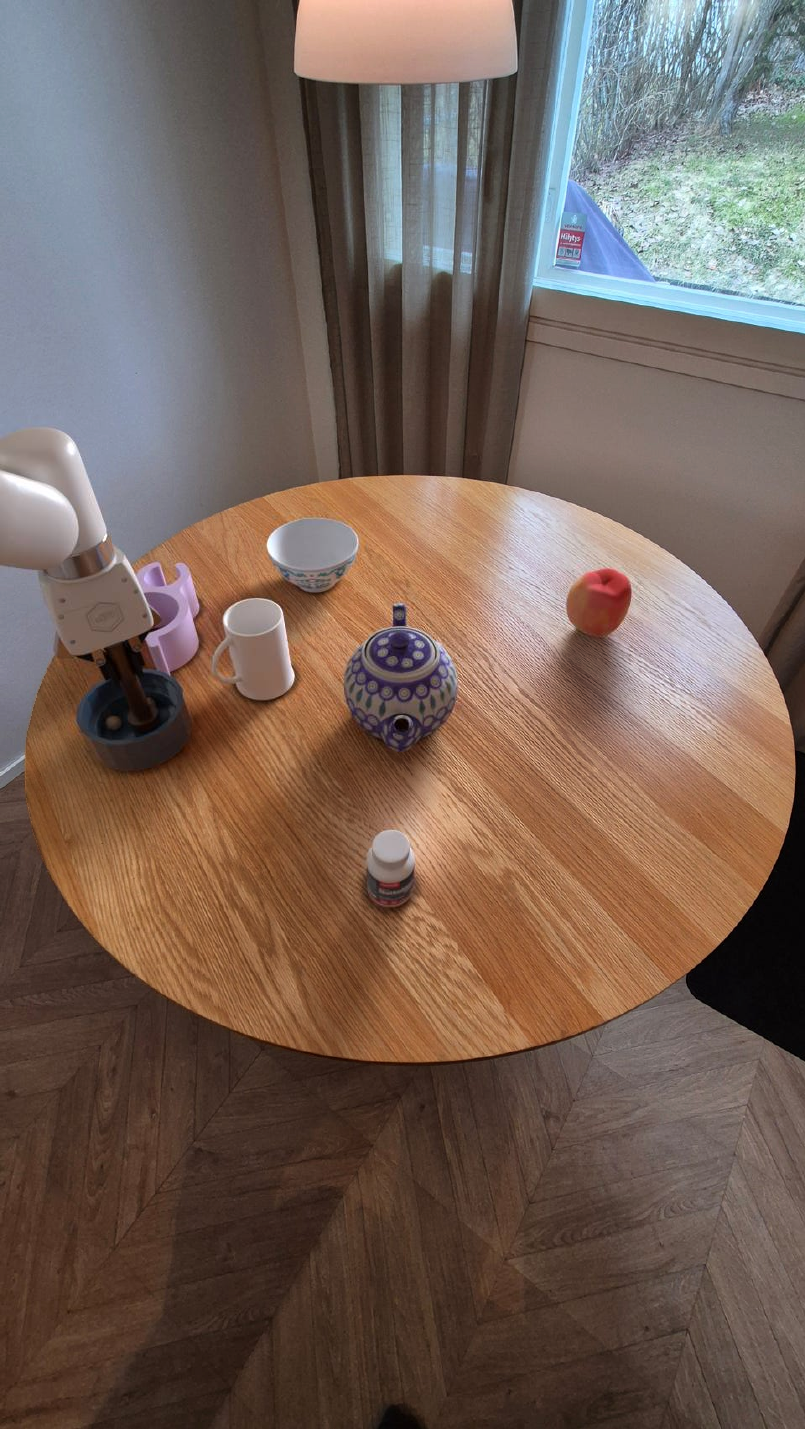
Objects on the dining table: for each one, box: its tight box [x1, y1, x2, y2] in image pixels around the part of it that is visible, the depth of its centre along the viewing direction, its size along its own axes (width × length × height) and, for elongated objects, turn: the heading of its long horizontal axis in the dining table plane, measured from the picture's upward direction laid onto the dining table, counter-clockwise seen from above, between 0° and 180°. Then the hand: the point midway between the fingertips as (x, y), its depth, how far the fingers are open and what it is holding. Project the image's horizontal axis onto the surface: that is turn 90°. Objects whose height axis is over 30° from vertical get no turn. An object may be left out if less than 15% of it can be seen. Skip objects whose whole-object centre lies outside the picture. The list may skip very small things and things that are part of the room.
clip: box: [124, 561, 200, 676], centre depth 101 cm, size 20×12×7 cm, turn 178°
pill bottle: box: [365, 829, 416, 908], centre depth 72 cm, size 5×5×9 cm
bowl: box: [75, 668, 194, 772], centre depth 88 cm, size 13×13×6 cm
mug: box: [211, 597, 295, 701], centre depth 93 cm, size 12×8×12 cm
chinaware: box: [265, 517, 359, 593], centre depth 111 cm, size 15×15×8 cm
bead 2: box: [147, 698, 156, 706], centre depth 92 cm, size 2×2×2 cm
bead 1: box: [106, 716, 122, 730], centre depth 90 cm, size 2×2×2 cm
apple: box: [565, 567, 633, 638], centre depth 102 cm, size 10×10×10 cm
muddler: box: [103, 641, 161, 732], centre depth 85 cm, size 4×4×14 cm
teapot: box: [343, 602, 459, 753], centre depth 88 cm, size 25×15×15 cm, turn 178°
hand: (126, 674), depth 84 cm, fingers closed on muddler, 2 cm apart
